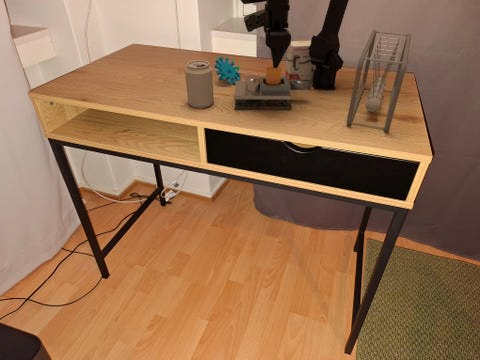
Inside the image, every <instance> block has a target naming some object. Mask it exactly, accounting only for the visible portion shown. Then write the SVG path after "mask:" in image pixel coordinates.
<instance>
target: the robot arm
mask: <svg viewBox="0 0 480 360" xmlns="http://www.w3.org/2000/svg"><path fill="white" fill-rule="evenodd" d="M240 2H241V3H242V4H243V5H250V4H251V5H252V4H258V3H263V2H265V3H264V9H260V10H258V11H255V12H252V13H250V14H246V15H244V16H243V22H244V25H245V27H246V31H247V32H248V33H251V32H253V31H254V30H257V29H259V28H263V32H264V42H265V45H266V47H268V48H269V49H270V55H271V60H272V66H273V68H278V67H280V64H281V62H282V60H283V57H284V56H285V54H286V53H287V52H286V51H287V50H288V47H289V45H290V44H291V41H292V34H291V32H290V30H289V29H288V28H289V11H290V9H291V6H290V0H240ZM348 3H349V0H329V4H328V7H327V10H326V13H325V16H324V21H323V24H322V27H321V30H320V31H319V32H318V34H317V35H314V34H313V35H312V37H311V40H310V41H311V44H310V47H309V48H308V49H309V56H310V58H311V64H314V65H315V70H313V75H312V81H311V85H312V86H313V87H314V90H336V86H335V85H336V75H337V72H339V71H340V70H342V68H343V65H344V60H343V58H342V57H341V56H340V54H339V53H340V47H341V44H340V38H339V33H340V29H341V27H342V22H343V20H344V16H345V13H346V10H347V7H348Z"/></svg>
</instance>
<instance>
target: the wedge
mask: <svg viewBox="0 0 480 360" xmlns="http://www.w3.org/2000/svg"><path fill="white" fill-rule="evenodd" d="M265 67H266V69H265V70H266V71H265V72H266V73H265V77H266V83H268V84H278V83H280V80H281V77H282V67H281V66H278V68H273V65H272V66H270V65H269V66H265Z"/></svg>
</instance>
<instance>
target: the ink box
mask: <svg viewBox="0 0 480 360" xmlns="http://www.w3.org/2000/svg"><path fill="white" fill-rule="evenodd" d="M310 44H311V40H295V41H294V40H293V41H292V40H291V44H290V45H289V47H288V48H287V50H286V51H287V52H286V61H285V63H286V64H285V76H284V77H288V78H289V80H311V82H312V75H313V70H315V65H314V64H311V58H310V56H309V49H308V48H309V47H310Z"/></svg>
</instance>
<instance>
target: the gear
mask: <svg viewBox="0 0 480 360" xmlns="http://www.w3.org/2000/svg"><path fill="white" fill-rule="evenodd" d="M229 61H230V58H229V57H227V56H226V57H224V56H219V58H217V59H216V60H215V61H214V62H215V64H214V66H213V68H214V69H217V70H216V71H215V72H216V75H217V76H219V75H220V76H219V77H218V81H222V82H224V81H225V80H226V79H227V80H226V82H225V83H226V84H227V85H231V84H232V85H236V81H241V78H240V77H241V76H242V74H241V72H239V71H240V69H241V65H239V64H238V65H237V66H234V65H235V64H236V63H235V61H234V60H232V61H231V62H229Z"/></svg>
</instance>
